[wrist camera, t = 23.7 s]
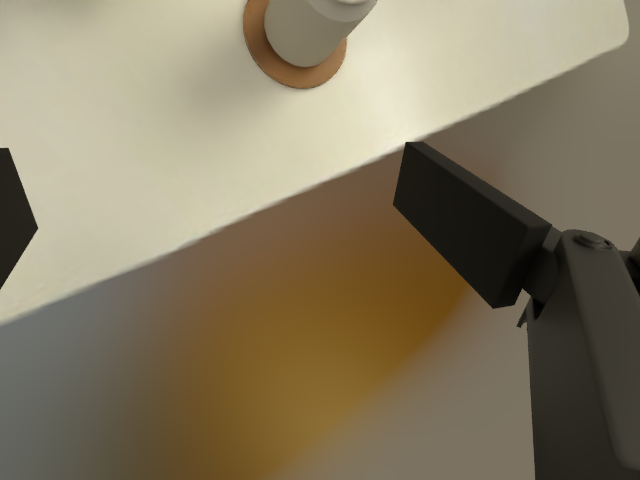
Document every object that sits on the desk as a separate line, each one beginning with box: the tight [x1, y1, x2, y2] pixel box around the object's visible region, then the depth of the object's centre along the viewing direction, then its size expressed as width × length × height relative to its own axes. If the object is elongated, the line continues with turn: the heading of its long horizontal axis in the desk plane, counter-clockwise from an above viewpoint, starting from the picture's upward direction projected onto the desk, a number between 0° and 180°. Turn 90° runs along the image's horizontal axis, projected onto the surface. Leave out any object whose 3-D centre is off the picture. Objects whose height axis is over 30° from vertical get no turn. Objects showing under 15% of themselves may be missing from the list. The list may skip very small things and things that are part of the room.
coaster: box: [243, 0, 347, 88], centre depth 39 cm, size 11×11×1 cm
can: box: [264, 0, 377, 67], centre depth 33 cm, size 8×8×12 cm
